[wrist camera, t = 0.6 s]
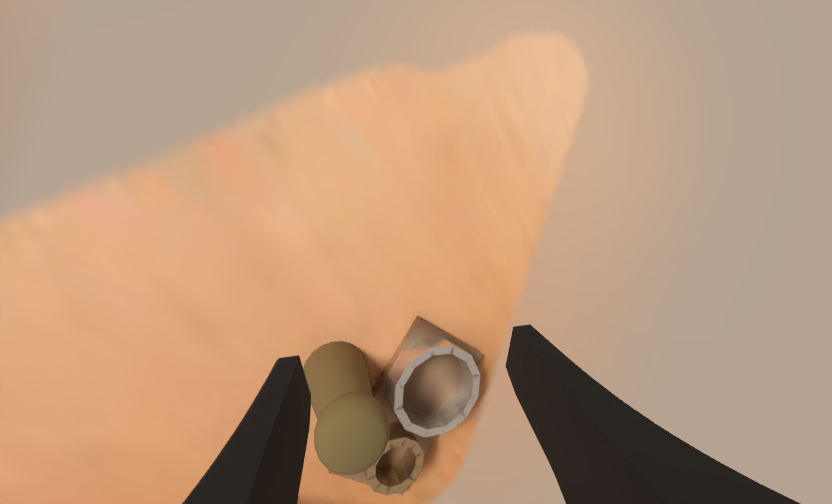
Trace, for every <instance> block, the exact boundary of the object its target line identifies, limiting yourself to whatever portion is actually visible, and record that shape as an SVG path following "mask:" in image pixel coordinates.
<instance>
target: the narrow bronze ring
mask: <svg viewBox="0 0 832 504" xmlns="http://www.w3.org/2000/svg"><path fill="white" fill-rule="evenodd" d="M389 424H390V432H389V440H388V442H387V445H386V448H385V450H384V452H383V454H384V453H386V452H387V451H388V450H390V449H391V448H393V447H398V446H405V447H407V450H406V452H405V453H404V455H403V457H402V459H401V460H399V461H398V462H397V463H395V464H394V465H393V466H388V467H384V468H382V467H379V466H376V465H377V463H378V461H379V460H380V458H381V457H380V458H379V459H378V461H377V462H375V463H374V464H373V465H372V466H371V467H370V468H368V469H366V470H364V473H365V476H366V479H367V481H368V483H369V484H370V486H371V487H372V489H373V490H374V491H375V492H378V493H381V494H385V495H390V494H393V493H397V492H401V491H403V490H404V489H405V488H407V487H408V486H409V485H410V484H412V483H413V482H414V481H415V480H416V478H417V476H418V475H419V473H420V471H421V469H422V468H423V457H424V452H423V451H422V449H421V447H420V445H419V443H418V442H417V440H416V438H415V436H414V435H413V433H412V432H410V431H407V430H405V429H404V427H403V425H402V423H399V422H392V423H389ZM383 454H382V455H383ZM382 455H381V456H382Z"/></svg>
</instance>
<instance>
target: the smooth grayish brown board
mask: <svg viewBox="0 0 832 504" xmlns="http://www.w3.org/2000/svg"><path fill="white" fill-rule="evenodd" d="M430 337H445V338H446V339H448V340H450V341H452V342H453V343H455V344H457V345H459V346H460V347H461V348H463V349H464V350H465V351H467V352H468V353H469V354H470V355H472V357H473V359H474V362H475V364H476V366H477V364H478V363H479V361H480V359H481V357H482V356H483V354H482V353H480V352H479V351H477V350H476V349H474V348H472V347H470V346H469V345H467V344H465V343H463V342H462V341H460V340H458V339H456V338H455V337H453V336H451V335H450V334H448V333H446V332H444V331H443V330H441V329H439V328H437V327H436V326H434V325H432V324H430V323H429V322H427V321H425V320H423V319H422V318H420V317H418V316H417V317H416V319H415V321H414V322H413V324H412V326H411V327H410V329H409V331H408V332H407V334H406V336H405V337H404V339H403V341H402V342H401V344H400V346H399V347H398V349H397V351H396V352H395V354H394V356H393V357H392V359H391V361H390V362H389V364H388V366H387V367H386V369H385V371H384V372H383V374H382V376H381V377H380V379H379V381H378V382H377V384H376V386H375V387H374V389H373V391H372V396H373V397H374V398H376V399H377V400H378V401H379V402H380V403H381V405H382V406H383V407H384V409H385V411H386V413H387V416H388V419H389V423H392V422H399V423H401V422H400V420H399V418H398V416H397V415H396V413H395V411H394V409H393V408H392V406H391V404H390V402H389V400H388V398H387V381H388V372H389V371H390V369H391V367H392V366H393V364H394V362H395V361H396V359H397V357H398V356H399V354H400V352H401V351H402V350H404V349H406V348H407V347H409V346H410V345H412V344H413V343H415V342H416V341H418V340H419V339H421V338H430ZM460 377H461V365H460V362H459V360H458V358H457V357H456V356H455V355H453V354H444V355H434V356H431V357H430V358H428V359H427V360H425V361H424V362H423V363H421V364H420V365H418V366H417V367H415V368H414V370H413V372H412V373H411V375H410V377H409V379H408V380H407V382H406V384H405V385H404V390H403V405H402V407H403V408H404V409H406V410H408V411H411V412H413V413H415V414H418V415H419V414H424V413H430V412H436V411H437V410H438V409H440V408H441V407H442V406H444V405H445V404H446V403H448V402H449V401H450V400H451V399H452V397H453V395H454V393H455V392H456V390H457V388H458V387H459V385H460ZM413 435H414V436H415V438H416V440H417V442H418V443H419V445H420V447H421V449H422V451H423V452H424V457H425V456H426V454H427V452H428V450H429V448H430V447H431V445H432V443H433V441H434V440H435V438H436V436H437V435H435V436H430V437H422V436H420V435H417V434H415V433H413ZM406 450H407V447H405V446H398V447H393V448H391V449H390V450H388V451H387V452H386V453H384V454H383V455H382V456H381V458H380V460H379V461H378V463H377V465H376V466H379V467H382V468H384V467H388V466H393V465H394V464H395V463H397V462H398V461H399V460H401V459H402V457H403V455H404V453H405V452H406ZM424 457H423V459H424ZM329 473H332V474H336V475H339V476H342V477H345V478H349V479H352V480H355V481H358V482H362V483H365V484H368V485H370V484H369V483H368V481H367V479H366V476H365V473H364V471H362V472H360V473H356V474H352V475H344V474H338V473H336V472H334V471H332V470H329ZM406 489H407V488H405V489H404V490H403V491H401V492H397V494H401V495H403V494H404V492H405V491H406Z"/></svg>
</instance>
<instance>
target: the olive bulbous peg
mask: <svg viewBox="0 0 832 504" xmlns="http://www.w3.org/2000/svg"><path fill="white" fill-rule="evenodd" d="M303 370H304V373H305V377H306V380H307V383H308V387H309V390H310V393H311V404H312V407H313V409H314V412H315V414H316V417H317V419H318V421H317V423H316V427H315V432H314V445H315V449H316V452H317V455H318V457H319V459H320V461H321V462H322V463H323V464H324V465H325V466H326V468H327V469H329V470H332V471H334V472H336V473H338V474H344V475H352V474H356V473H360V472H362V471H364V470H366V469H368V468H370V467H371V466H372V465H373V464H374V463H375V462H377V461H378V459H379V458H380V457H381V455H382V454H383V452H384V450H385V448H386V445H387V442H388V440H389V432H390V424H389V419H388V416H387V413H386V411H385V409H384V407H383V406H382V405H381V403H380V402H379V401H378V400H377V399H376V398H374V397H373V396H372V391H371V386H370V381H369V376H368V371H367V366H366V362H365V358H364V355H363V354H362V352H361V351H360V350H359V348H357V347H355V346H354V345H352V344H351V343H347V342H342V341H339V342H330V343H328V344H325V345H322V346H321V347H319V348H318V349H317V350H315V351H314V352H313V353H312V354H311V355H310V357H309V358H308V359H307V360H306V363H305V366H304V368H303Z"/></svg>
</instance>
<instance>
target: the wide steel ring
mask: <svg viewBox="0 0 832 504" xmlns="http://www.w3.org/2000/svg"><path fill="white" fill-rule="evenodd" d="M444 354H453V355H455V356H456V357H457V358H458V360H459V362H460V365H461V377H460V385H459V387H458V388H457V390H456V392H455V393H454V395H453V397H452V399H451V400H450V401H449V402H448V403H446V404H445V405H444V406H442V407H441V408H440V409H438V410H437V411H436V412H430V413H424V414H419V415H418V414H415V413H413V412H411V411H408V410H406V409H404V408H403V407H402V405H403V390H404V385H405V384H406V382H407V380H408V379H409V377H410V375H411V373H412V372H413V370H414V368H415V367H417V366H418V365H420V364H421V363H423V362H424V361H425V360H427V359H428V358H430V357H431V356H434V355H444ZM479 384H480V372H479V370H478V368H477V366H476V364H475V362H474V359H473V357H472V355H470V354H469V353H468V352H467V351H465V350H464V349H463V348H461V347H460V346H459V345H457V344H455V343H453V342H452V341H450V340H448V339H446V338H445V337H430V338H421V339H419V340H418V341H416V342H415V343H413V344H412V345H410V346H409V347H407V348H406V349H404V350H402V351H401V352H400V354H399V356H398V357H397V359H396V361H395V362H394V364H393V366H392V367H391V369H390V371H389V372H388V381H387V398H388V400H389V402H390V404H391V406H392V408H393V409H394V411H395V413H396V415H397V416H398V418H399V420H400V422H401V423H402V425H403V427H404V429H405V430H407V431H410V432H412V433H415V434H417V435H420V436H422V437H430V436H435V435H440V434H445V433H448V432H449V431H450V430H452V429H453V428H454V427H456V426H457V425H458V424H459V423H461V422H462V421H463V420H465V419H466V418H467V416H468V414H469V413H470V411H471V409H472V407H473V406H474V404H475V402H476V400H477V399H478V396H479Z"/></svg>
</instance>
